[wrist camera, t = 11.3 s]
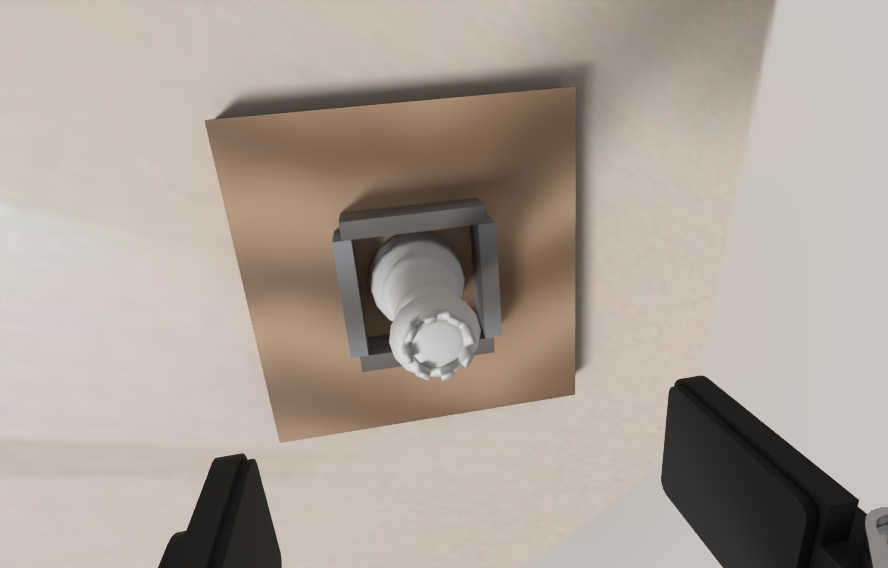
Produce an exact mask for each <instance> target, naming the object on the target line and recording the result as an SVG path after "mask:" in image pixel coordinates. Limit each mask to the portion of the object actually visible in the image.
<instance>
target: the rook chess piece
mask: <svg viewBox="0 0 888 568" xmlns="http://www.w3.org/2000/svg"><path fill="white" fill-rule="evenodd" d="M464 281H465V277H464V273H463V270H462V266H461V263H460V260H459V257H458V255H457V254H456V252H455V251H454V250H453V249H452V247H451V246H450V245H449V244H448V243H447V242H446V241H444V240H442V239H440V238H438V237H436V236H435V235H433V234H431V233H418V232H413V233H407V234H404V235H400V236H397V237H394V238H393V239H391V240H390V241H389V242H388V243H386V244H385V245H384V246H383V247H382V248H380V249H379V251H378V252H377V254H376V256H375V258H374V260H373V262H372V264H371V266H370V277H369V285H370V288H371V292H372V294H373V297H374V300H375V303H376V306H377V307H378V308H379V309H380V310H381V311H382V312H383V313H384V315H385V316H386V317H387V318H388V319H389V320H391V321H393V323H392V325H391V329H390V339H389V343H390V346H391V349H392V352H393V355H394V358H395V359H396V360H397V361H398V362H399V363H400V364H401V365H402V366H403V367H404V368H405V369H406V370H408V371H410V372H412V373H415V375H416V376H418V377H420V378H423V379H425V380H427V381H428V380H429V377H441V379H442V381H445V380H448V379H451V378H454V377H456V376H455V373H454V372H456V371H457V370H458V369H460V368H461V367H462V366H465V367H466V368H467V367H468V366H469V364H470V362H471V361H472V359H473V358H474V355H473V354H474V353H475V351H476V349H477V348H478V345H479V339H480V332H481V329H480V325H479V322H478V318H477V315H476V313H475V312H474V311H473V310H472V309H471V308H470V306H469V305H468V304H467V303H466V302H465V301H463V300H461V298H462V295H463V288H464Z"/></svg>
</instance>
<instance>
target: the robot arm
mask: <svg viewBox="0 0 888 568" xmlns="http://www.w3.org/2000/svg"><path fill="white" fill-rule="evenodd" d="M661 482H662V486H663V489H664V491H665V493H666V495H667V496H668V497H669V499H670V500H671V501H672V503H673V504H674V505H675V507H676V508H677V509H678V510H679V512H680V513H681V514H682V515H683V517H684V518H685V519H686V521H687V522H688V523H689V524H690V525H691V527H692V528H693V529H694V531H695V532H696V533H697V535H698V536H699V537H700V539H701V540H702V541H703V542H704V544H705V545H706V546H707V547H708V549H709V550H710V551H711V553H712V554H713V555H714V557H715V558H716V559H717V560H718V562H719V563H720V564H721V566H722V567H723V568H888V507H883V508H882V507H881V508H879V509H875V510H872V511H871V512H870V513H869V514H868V515H867V514H866V513H865V512H864V511H862V510H861V509H860V508H859V507H858V502H859V500H858V499H857V498H856V497H854V496H853V495H852V494H851V493H849V492H848V491H847V490H846V489H845V488H843V487H842V486H841V485H840V484H838V483H837V482H836V481H835V480H833V479H832V478H831V477H830V476H828V475H827V474H826V473H825V472H824V471H822V470H821V469H820V468H819V467H817V466H816V465H815V464H814V463H812V462H811V461H810V460H809V459H807V458H806V457H805V456H804V455H802V454H801V453H800V452H799V451H797V450H796V449H795V448H794V447H792V446H791V445H790V444H789V443H788V442H786V441H785V440H784V439H782V438H781V437H780V436H779V435H778V434H776V433H775V432H774V431H773V430H771V429H770V428H769V427H768V426H766V425H765V424H764V423H763V422H761V421H760V420H759V419H758V418H756V417H755V416H754V415H753V414H752V413H750V412H749V411H747V410H746V409H745V408H744V407H743V406H742V405H740V404H739V403H738V402H737V401H735V400H734V399H733V398H731V397H730V396H729V395H728V394H727V393H725V392H724V391H723V390H722V389H720V388H719V387H718V386H717V385H715V384H714V383H713V382H712V381H711V380H709V379H708V378H706V377H705V376H695V377H689V378H684V379H679V380H677V381H676V383H675V385H674V387H671V388H670V390H669V396H668V407H667V418H666V430H665V441H664V452H663V464H662V475H661ZM281 567H282V563H281V553H280V549H279V545H278V542H277V538H276V534H275V530H274V526H273V523H272V519H271V515H270V511H269V507H268V504H267V500H266V496H265V492H264V489H263V485H262V481H261V477H260V473H259V470H258V466H257V463H256V460H255V459H249V460H247V458H246V456H245V454H243V453H242V454H236V455H230V456H225V457H219V458H215V459H214V461H213V462H212V465H211V467H210V470H209V473H208V475H207V478H206V481H205V483H204V486H203V489H202V491H201V494H200V497H199V499H198V502H197V504H196V507H195V510H194V512H193V515H192V518H191V520H190V523H189V526H188V528H187V531H183V532H178V533H175V534H174V535H173V536H172V537H171V539H170V541H169V543H168V545H167V547H166V550H165V552H164V555H163V557H162V560H161V562H160V564H159V567H158V568H281Z"/></svg>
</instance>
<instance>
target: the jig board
mask: <svg viewBox="0 0 888 568" xmlns="http://www.w3.org/2000/svg"><path fill="white" fill-rule="evenodd" d="M205 124H206V128H207V132H208V137H209V141H210V145H211V149H212V154H213V158H214V162H215V167H216V171H217V175H218V179H219V184H220V188H221V192H222V197H223V201H224V205H225V209H226V214H227V218H228V222H229V227H230V231H231V235H232V239H233V244H234V248H235V252H236V257H237V261H238V265H239V269H240V274H241V278H242V282H243V286H244V291H245V295H246V299H247V304H248V308H249V312H250V316H251V321H252V325H253V329H254V334H255V338H256V342H257V346H258V351H259V355H260V359H261V364H262V368H263V372H264V376H265V381H266V385H267V389H268V393H269V398H270V402H271V406H272V411H273V415H274V419H275V423H276V428H277V432H278V436H279V441H280V443H282V442H289V441H295V440H301V439H307V438H313V437H319V436H325V435H331V434H337V433H344V432H350V431H356V430H362V429H368V428H374V427H380V426H386V425H392V424H398V423H405V422H411V421H417V420H423V419H429V418H435V417H441V416H447V415H453V414H460V413H466V412H472V411H478V410H484V409H490V408H496V407H502V406H508V405H514V404H521V403H527V402H533V401H539V400H545V399H551V398H557V397H563V396H569V395H575V256H576V87H562V88H551V89H540V90H529V91H518V92H507V93H496V94H485V95H474V96H463V97H452V98H441V99H430V100H419V101H408V102H397V103H386V104H375V105H364V106H353V107H343V108H332V109H321V110H310V111H299V112H288V113H277V114H266V115H255V116H244V117H233V118H222V119H211V120H205ZM413 232H418V233H431V234H433V235H435V236H436V237H438V238H440V239H442V240H444V241H446V242H447V243H448V244H449V245H450V246H451V247H452V249H453V250H454V251H455V252H456V254H457V255H458V257H459V260H460V263H461V266H462V270H463V273H464V277H465V281H464V288H463V295H462V298H461V300H463V301H465V302H466V303H467V304H468V305H469V306H470V308H471V309H472V310H473V311H474V312H475V313H476V315H477V318H478V322H479V325H480V329H481V332H480V339H479V345H478V348H477V349H476V351H475V353H474V354H473V355H474V358H473V359H472V361H471V362H470V364H469V366H468V367H467V368H466V367H465V366H462V367H461V368H460V369H458V370H457V371H456V372H454V373H455V376H456V377H454V378H451V379H448V380H445V381H442V379H441V377H429V380H428V381H427V380H425V379H423V378H420V377H418V376H416V375H415V373H412V372H410V371H408V370H406V369H405V368H404V367H403V366H402V365H401V364H400V363H399V362H398V361H397V360H396V359H395V358H394V355H393V352H392V349H391V346H390V343H389V339H390V329H391V325H392V323H393V321H391V320H389V319H388V318H387V317H386V316H385V315H384V313H383V312H382V311H381V310H380V309H379V308H378V307H377V306H376V303H375V300H374V297H373V294H372V292H371V288H370V285H369V277H370V266H371V264H372V262H373V260H374V258H375V256H376V254H377V252H378V251H379V249H380V248H382V247H383V246H384V245H385V244H386V243H388V242H389V241H390V240H391V239H393V238H394V237H397V236H400V235H404V234H407V233H413Z"/></svg>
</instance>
